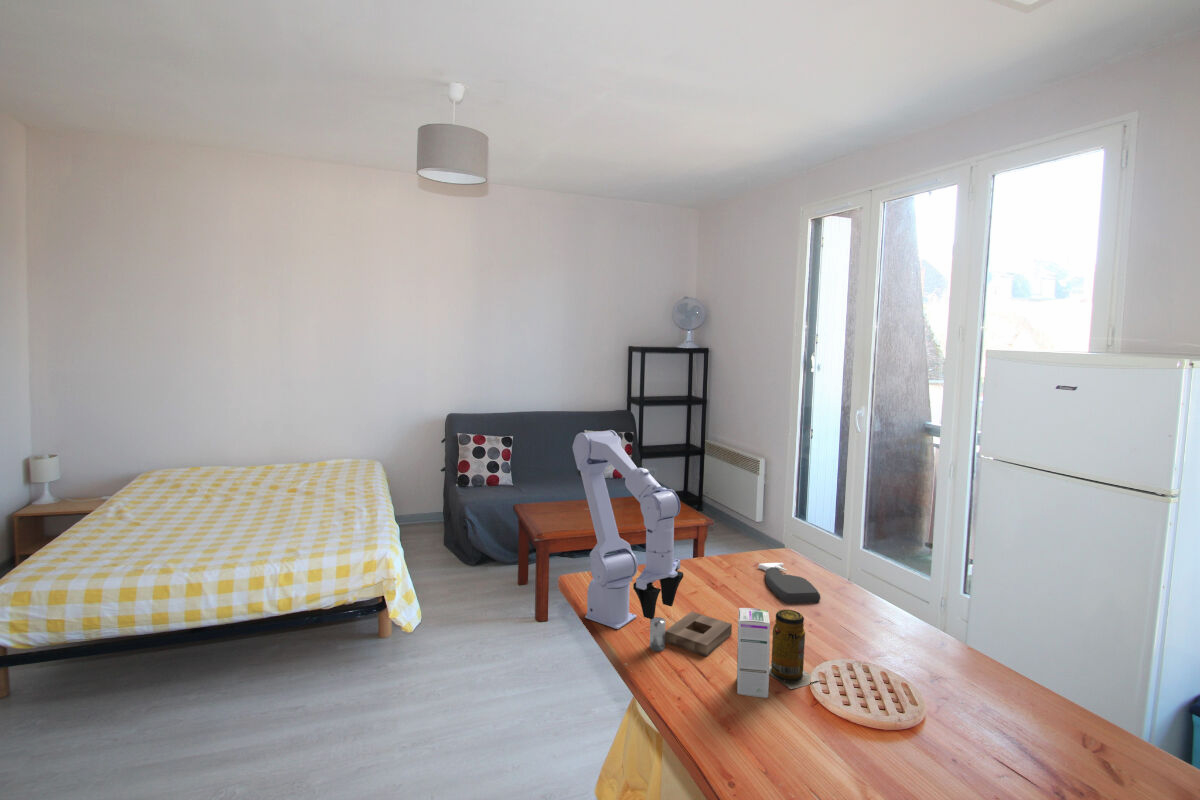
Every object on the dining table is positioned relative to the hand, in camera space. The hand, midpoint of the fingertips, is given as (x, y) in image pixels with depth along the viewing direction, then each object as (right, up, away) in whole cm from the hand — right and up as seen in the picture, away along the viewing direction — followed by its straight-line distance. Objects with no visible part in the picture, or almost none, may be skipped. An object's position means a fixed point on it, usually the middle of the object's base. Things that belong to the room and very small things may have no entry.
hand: (658, 611), depth 130 cm
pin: (0, -8, +1) cm, 8 cm away
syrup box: (+16, -10, -14) cm, 24 cm away
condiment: (+25, -10, -9) cm, 28 cm away
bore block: (+9, -8, +5) cm, 13 cm away
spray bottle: (+37, -5, +36) cm, 52 cm away
